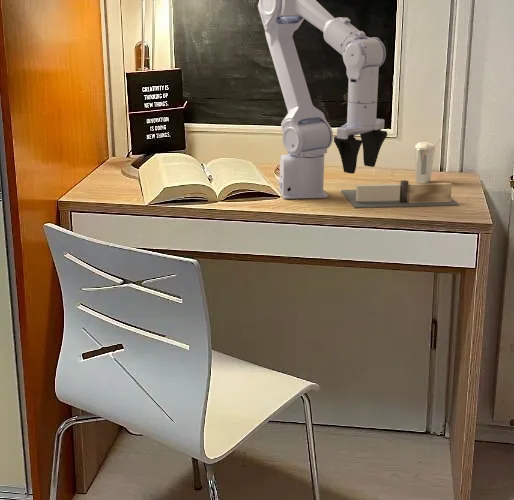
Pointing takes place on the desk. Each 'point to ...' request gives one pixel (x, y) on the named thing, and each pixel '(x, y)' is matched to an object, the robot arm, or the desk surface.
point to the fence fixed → (425, 192)
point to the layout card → (391, 202)
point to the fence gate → (378, 192)
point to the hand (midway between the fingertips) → (359, 169)
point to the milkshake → (424, 161)
